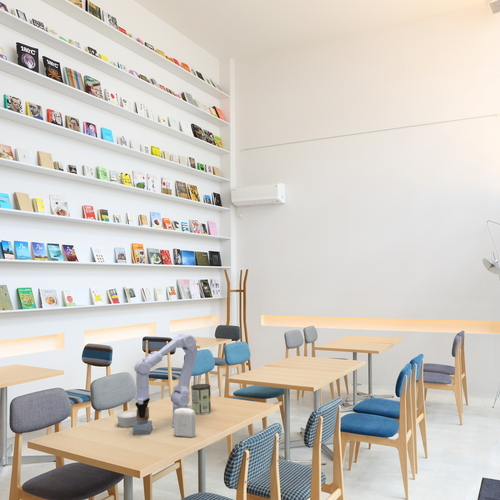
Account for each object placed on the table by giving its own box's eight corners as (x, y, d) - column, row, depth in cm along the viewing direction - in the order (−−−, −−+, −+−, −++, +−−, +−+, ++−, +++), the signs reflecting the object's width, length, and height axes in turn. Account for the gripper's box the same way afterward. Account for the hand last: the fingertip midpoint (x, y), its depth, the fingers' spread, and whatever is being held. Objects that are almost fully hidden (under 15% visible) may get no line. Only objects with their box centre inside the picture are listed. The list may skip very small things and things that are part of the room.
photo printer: (197, 435, 218) (196, 407, 219) (193, 437, 214) (192, 409, 215) (176, 433, 221) (176, 406, 222) (172, 436, 217) (172, 408, 218)
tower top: (151, 425, 228) (151, 420, 228) (147, 430, 221) (147, 424, 221) (137, 425, 228) (137, 420, 228) (132, 430, 221) (132, 424, 222)
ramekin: (134, 428, 231) (134, 417, 231) (112, 427, 233) (112, 416, 234) (143, 421, 242) (143, 411, 242) (123, 421, 244) (123, 410, 245)
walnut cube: (149, 417, 228) (148, 407, 228) (147, 420, 223) (147, 409, 223) (138, 418, 227) (138, 407, 228) (136, 421, 222) (136, 410, 223)
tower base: (152, 430, 229) (152, 425, 229) (150, 435, 221) (150, 430, 221) (135, 431, 228) (135, 426, 228) (133, 436, 220) (133, 431, 220)
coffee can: (199, 408, 264) (199, 383, 265) (214, 411, 258) (214, 384, 259) (187, 413, 255) (187, 386, 256) (202, 415, 250) (202, 388, 251)
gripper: (136, 384, 233) (136, 412, 232) (131, 390, 218) (131, 420, 217) (150, 383, 233) (151, 411, 233) (147, 389, 219) (147, 420, 218)
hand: (142, 416), depth 225 cm, fingers closed on walnut cube, 5 cm apart
